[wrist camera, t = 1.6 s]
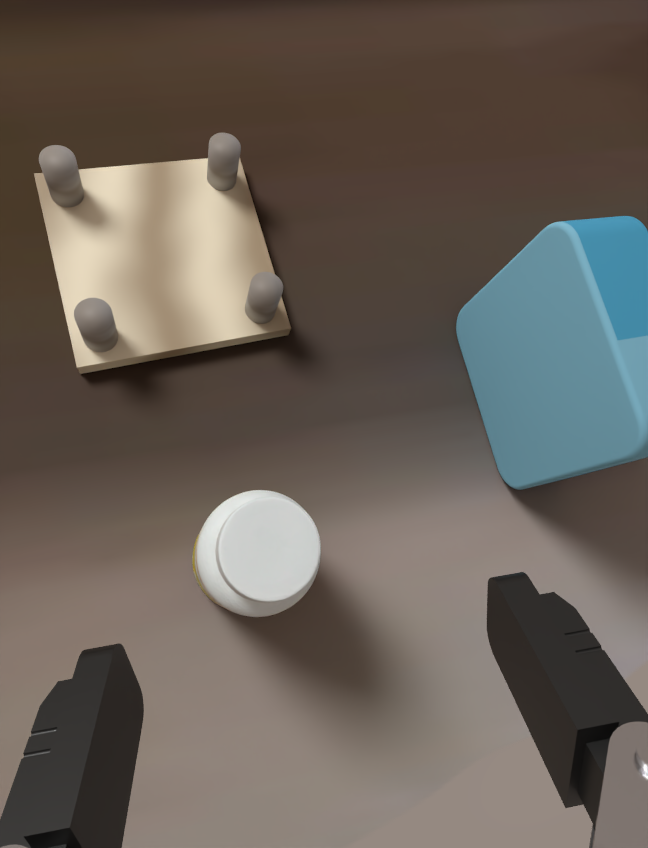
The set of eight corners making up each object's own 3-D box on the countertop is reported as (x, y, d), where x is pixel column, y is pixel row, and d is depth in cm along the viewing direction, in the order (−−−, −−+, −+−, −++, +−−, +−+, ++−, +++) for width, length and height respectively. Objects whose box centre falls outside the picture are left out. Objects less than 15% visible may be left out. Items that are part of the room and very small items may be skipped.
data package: (563, 479, 37) (732, 434, 26) (503, 494, 36) (654, 453, 24) (507, 310, 39) (638, 201, 28) (449, 318, 38) (563, 207, 27)
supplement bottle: (185, 605, 30) (187, 616, 21) (199, 502, 31) (207, 470, 22) (287, 613, 31) (332, 626, 22) (296, 513, 32) (342, 487, 23)
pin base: (237, 166, 37) (243, 122, 33) (288, 335, 35) (300, 306, 31) (38, 184, 34) (21, 137, 30) (80, 374, 31) (67, 347, 28)
